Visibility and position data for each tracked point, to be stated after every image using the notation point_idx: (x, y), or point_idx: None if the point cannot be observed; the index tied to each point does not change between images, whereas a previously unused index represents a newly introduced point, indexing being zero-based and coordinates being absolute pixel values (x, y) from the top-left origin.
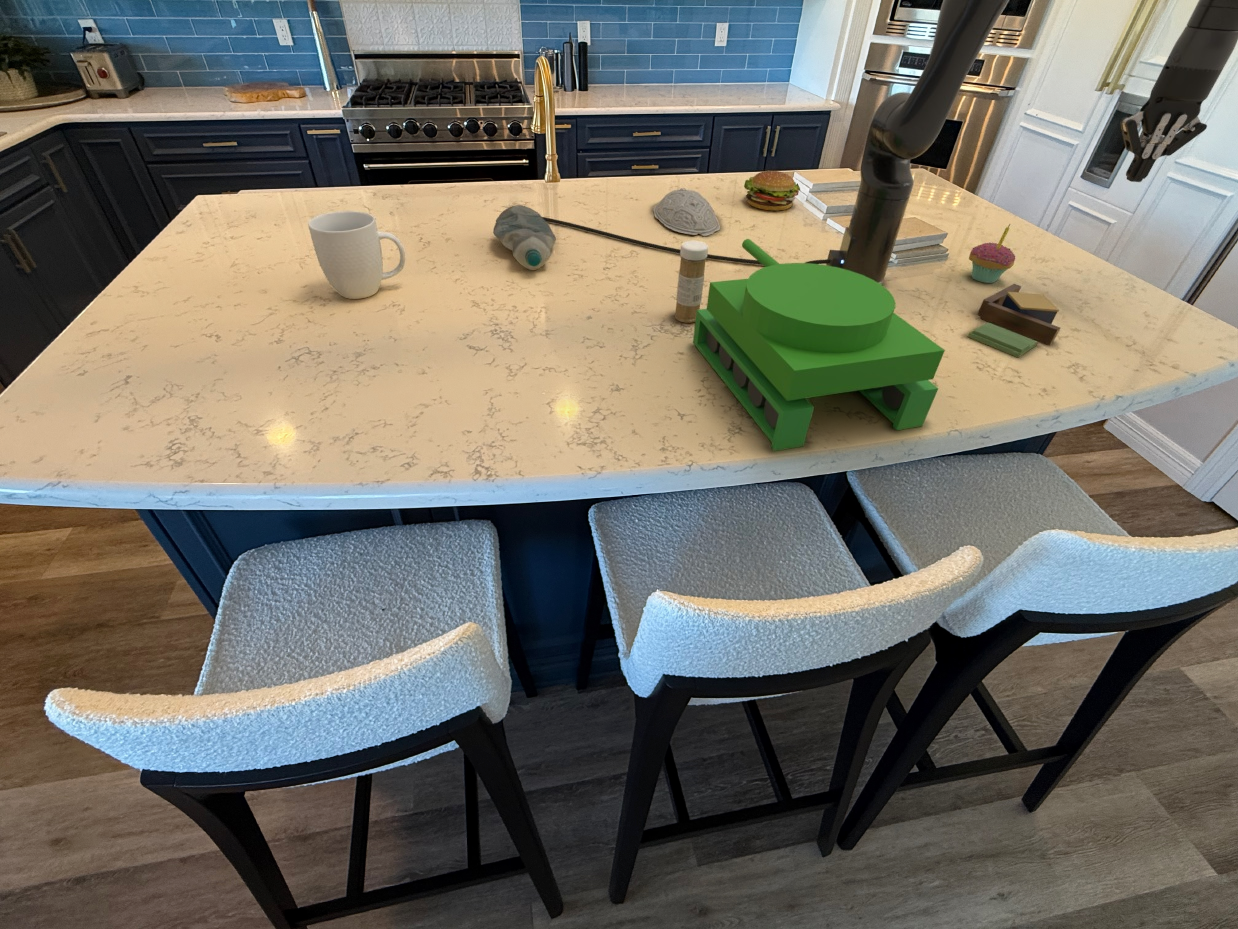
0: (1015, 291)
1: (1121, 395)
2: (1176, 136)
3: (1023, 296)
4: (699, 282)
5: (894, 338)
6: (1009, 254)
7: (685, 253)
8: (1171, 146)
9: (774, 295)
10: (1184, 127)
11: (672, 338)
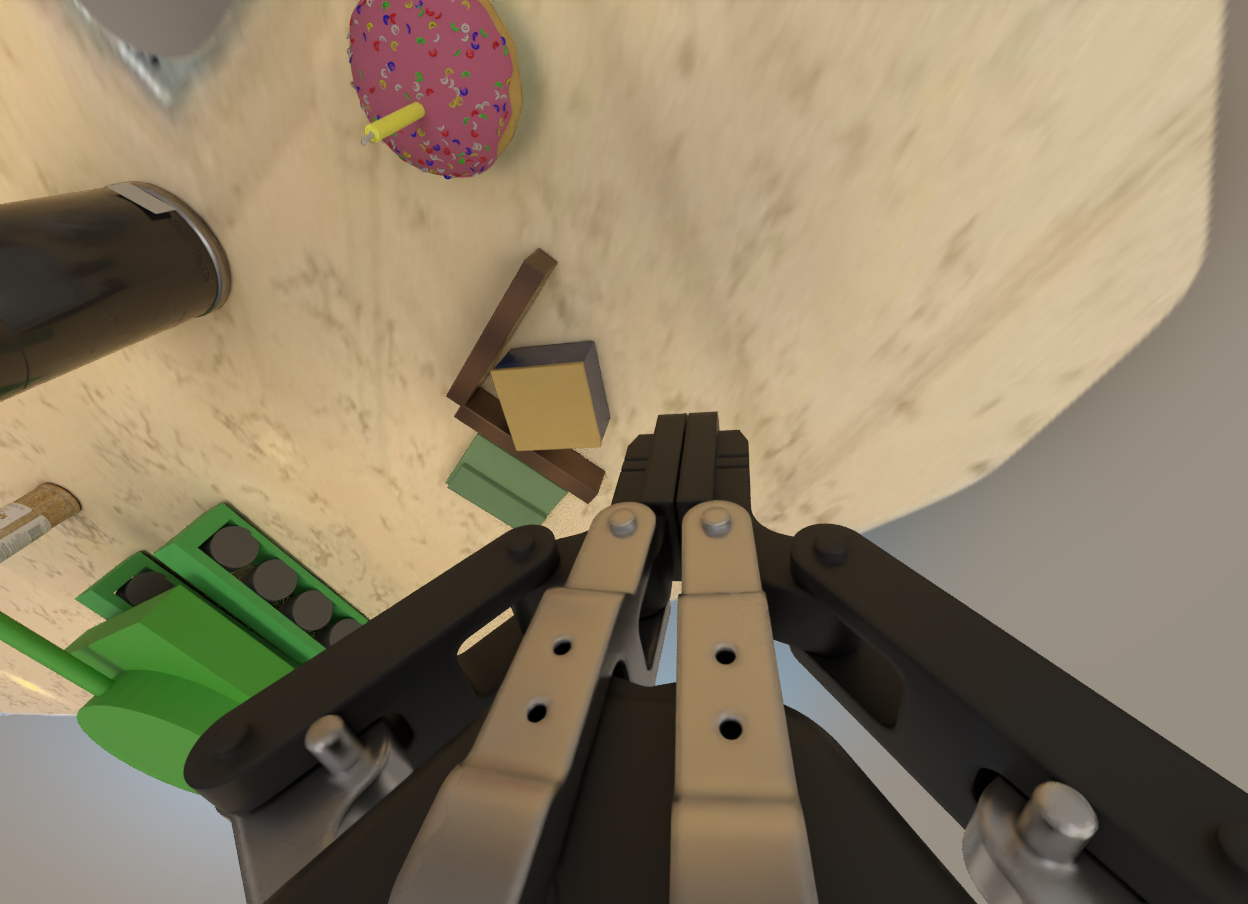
0: (531, 298)
1: (670, 601)
2: (920, 696)
3: (526, 393)
4: (8, 556)
5: None
6: (472, 135)
7: None
8: (820, 678)
9: (143, 763)
10: (976, 839)
11: (96, 547)
